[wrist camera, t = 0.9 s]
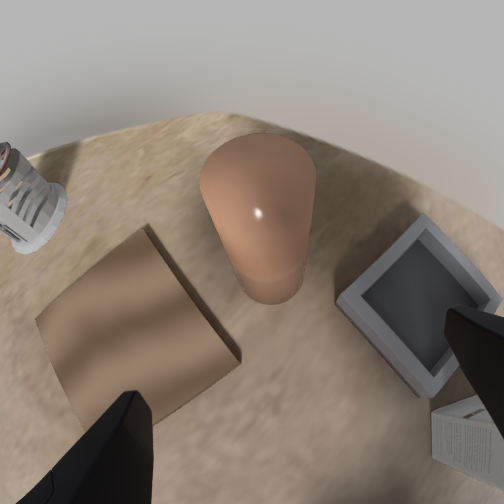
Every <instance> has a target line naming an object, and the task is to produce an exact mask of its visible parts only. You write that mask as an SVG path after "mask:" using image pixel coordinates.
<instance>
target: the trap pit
mask: <svg viewBox="0 0 504 504" xmlns="http://www.w3.org/2000/svg"><path fill="white" fill-rule="evenodd" d="M501 301H502V298H501V297H500V295H499V294H498V293H497V292H496V290H495V289H494V288H493V287H492V285H491V284H490V283H489V282H488V281H487V279H486V278H485V277H484V276H483V275H482V274H481V272H480V271H479V270H478V269H477V268H476V267H475V265H474V264H473V263H472V262H471V261H470V260H469V259H468V258H467V257H466V255H465V254H464V253H463V252H462V251H461V250H460V249H459V248H458V247H457V246H456V245H455V244H454V243H453V242H452V240H451V239H450V238H449V237H448V236H447V235H446V234H445V233H444V232H443V231H442V230H441V229H440V228H439V227H438V226H437V225H436V224H435V223H434V222H433V221H432V220H431V219H430V218H429V217H428V216H427V215H425V214H424V213H422V214H421V215H420V217H419V218H418V219H417V220H416V221H415V222H414V223H413V224H412V225H411V226H410V227H409V228H408V229H407V230H406V231H405V232H404V233H403V234H402V235H401V236H400V237H399V238H398V239H397V241H396V242H395V243H394V244H393V245H392V246H391V247H390V248H389V249H388V250H387V251H386V252H385V253H384V254H383V255H381V256H380V257H379V258H378V259H377V260H376V261H375V262H374V263H373V264H372V265H371V266H370V267H369V268H368V269H367V270H366V271H365V272H364V273H363V274H362V275H361V276H360V277H359V278H358V279H356V280H355V281H354V282H353V283H352V284H351V285H350V286H349V287H348V288H347V289H346V290H345V291H343V292H342V293H341V294H340V296H339V297H338V299H337V301H336V302H335V305H336V306H337V307H338V308H339V310H340V311H341V312H342V313H343V314H344V315H345V316H346V317H347V318H348V319H349V320H350V322H351V323H352V324H353V325H354V326H355V327H356V328H357V329H358V330H359V331H360V333H361V334H362V335H363V336H364V337H365V338H366V339H367V340H368V341H369V343H370V344H371V345H372V346H373V347H374V348H375V349H376V350H377V351H378V353H379V354H380V355H381V356H382V357H383V358H384V359H385V360H386V361H387V363H388V364H389V365H390V366H391V367H392V368H393V369H394V370H395V372H396V373H397V374H398V375H399V376H400V377H401V378H402V380H403V381H404V382H405V383H406V384H407V385H408V386H409V388H410V389H411V390H412V391H413V392H414V393H415V394H416V396H417V397H418V398H433V397H434V396H435V395H436V394H437V393H438V391H439V390H440V389H441V388H442V387H443V385H444V384H445V383H446V382H447V380H448V379H449V378H450V377H451V375H452V374H453V373H454V372H455V370H456V369H457V368H458V366H459V363H458V361H457V359H456V357H455V355H454V353H453V352H452V350H451V348H450V346H449V344H448V342H447V341H446V339H445V336H444V325H445V318H446V312H447V310H448V309H449V308H450V307H453V306H455V305H458V304H460V305H464V306H467V307H471V308H474V309H477V310H481V311H484V312H487V313H491V314H494V313H495V311H496V310H497V308H498V306H499V305H500V303H501Z"/></svg>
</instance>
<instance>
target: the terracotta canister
mask: <svg viewBox="0 0 504 504" xmlns="http://www.w3.org/2000/svg"><path fill="white" fill-rule="evenodd" d="M316 178H317V174H316V168H315V164H314V162H313V160H312V158H311V156H310V155H309V154H308V152H307V151H306V150H305V149H304V148H303V147H302V146H300V145H299V144H298V143H296V142H294V141H292V140H291V139H288V138H286V137H283V136H279V135H275V134H267V133H255V134H248V135H244V136H240V137H237V138H234V139H232V140H230V141H228V142H226V143H224V144H223V145H221V146H220V147H218V148H217V149H216V150H215V151H214V152H213V153H212V154H211V155H210V156H209V157H208V159H207V160H206V162H205V164H204V166H203V168H202V171H201V174H200V191H201V194H202V197H203V199H204V202H205V204H206V206H207V209H208V211H209V213H210V216H211V218H212V220H213V223H214V225H215V227H216V230H217V232H218V234H219V237H220V239H221V241H222V244H223V246H224V248H225V251H226V253H227V255H228V258H229V260H230V262H231V264H232V267H233V269H234V271H235V274H236V276H237V278H238V280H239V283H240V285H241V287H242V289H243V291H244V292H245V293H246V294H247V295H248V296H249V297H250V298H251V299H253V300H254V301H256V302H259V303H262V304H267V305H274V304H280V303H283V302H285V301H287V300H289V299H290V298H292V297H293V296H294V295H295V294H296V293H297V292H298V290H299V289H300V287H301V285H302V282H303V277H304V271H305V264H306V257H307V250H308V243H309V236H310V229H311V221H312V213H313V205H314V197H315V188H316Z"/></svg>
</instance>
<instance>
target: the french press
mask: <svg viewBox="0 0 504 504" xmlns="http://www.w3.org/2000/svg"><path fill="white" fill-rule="evenodd" d="M8 167H9V168H10V169H11V171H10V173H9V174H8V175H7V177H5V178H4V179H3V180H2V181H1V182H0V188H1V187H2V186H3V185H5V184H6V183H7V182H8V181H9V180H10V179H11V180H10V182H9V183H8V184H7V186H6V187H5V189H4V190H3V191H2V192H1V193H0V231H1V232H2V233H4V234H5V235H6V236H8V237H9V238H11V240H12V245H13V247H14V249H15V250H16V252H18V253H21V254H24V255H26V254H29V253H32V252H35V251H37V250H38V249H39V248H40V247H42V246H43V245H44V244H45V243H47V242H48V240H49V239H50V238H51V236H52V235H53V234H54V232H55V231H56V230H57V229H58V226H59V224H60V222H61V220H62V218H63V216H64V214H65V209H66V204H67V195H66V190H65V188H64V187H63V186H62V185H61V184H60V183H48V182H47V181H46V180H45V179H44V178H43V177H42V176H41V175H40V174H39V173H38V171H37V170H36V169H35V168H34V167H33V166H32V165H31V164H30V163H29V162H28V160H27V159H26V158H25V157H24V156H23V155H22V154H21V153H20V152H19V151H18V150H17V149H15V148H13V149H11V146H10V144H9V143H8V142H5V143H4V142H3V143H0V176H1V175H2V174H3V173H4V172H5V171H6V170H7V168H8ZM20 181H22V182H23V183H22V184H21V185H20V187H19V188H18V189H17V190H16V191H14V190H15V188H16V186H17V185H18V183H19V182H20ZM26 190H27V191H26ZM16 196H17V197H16ZM15 197H16V199H15V201H14V203H13V204H12V205H10V206H9V207H7V205H8V203H9V201H11V200H12V199H13V198H15ZM3 228H5V229H6V230H5V229H3Z"/></svg>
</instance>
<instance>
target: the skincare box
mask: <svg viewBox="0 0 504 504" xmlns="http://www.w3.org/2000/svg"><path fill="white" fill-rule="evenodd" d="M431 432H432V458H433V459H435V460H437V461H439V462H441V463H443V464H445V465H447V466H450V467H451V468H453V469H456V470H458V471H460V472H462V473H464V474H466V475H469V476H471V477H473V478H475V479H477V480H480V481H482V482H484V483H486V484H489V485H491V486H493V487H496V488H498V489H501V490H503V491H504V439H503V438H502V436H501V434H500V432H499V430H498V429H497V427H496V425H495V423H494V422H493V420H492V418H491V417H490V415H489V413H488V411H487V410H486V408H485V406H484V405H483V403H482V402H481V400H480V398H479V397H478V395H475V396H472V397H469V398H466V399H463V400H460V401H457V402H455V403H452V404H449V405H446V406H444V407H441V408H438V409H436V410H434V411H432V412H431Z"/></svg>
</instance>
